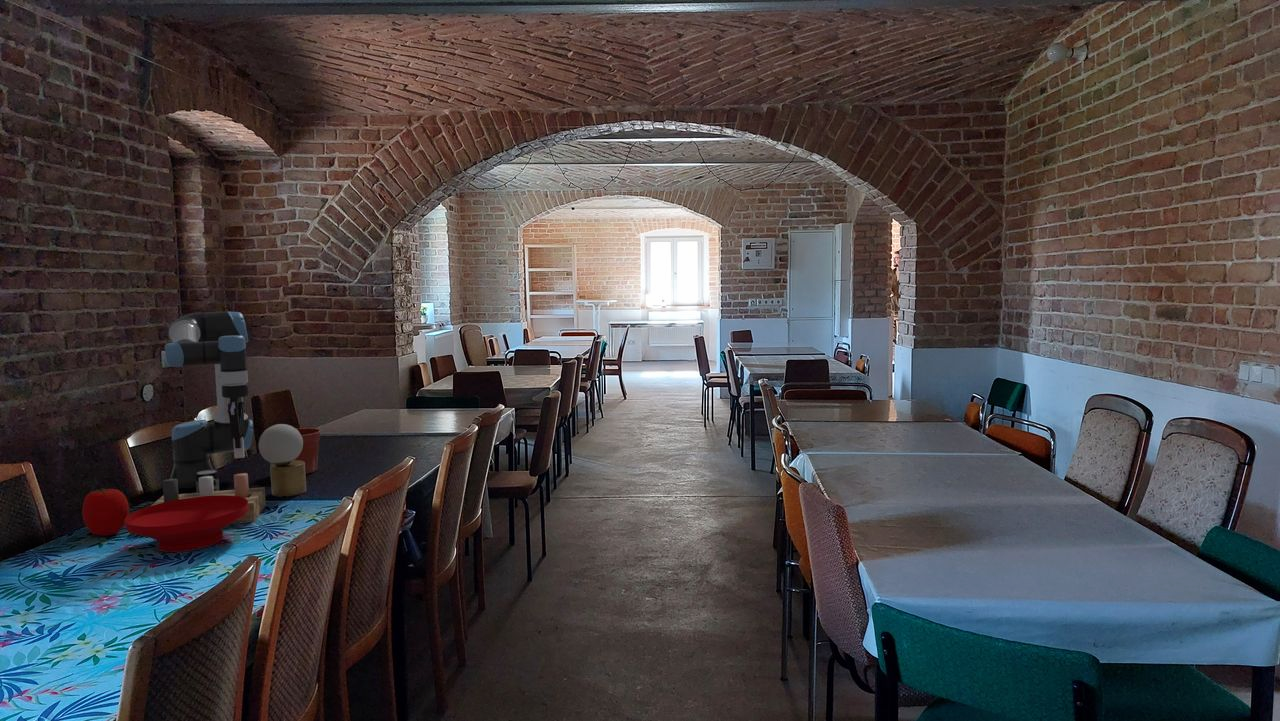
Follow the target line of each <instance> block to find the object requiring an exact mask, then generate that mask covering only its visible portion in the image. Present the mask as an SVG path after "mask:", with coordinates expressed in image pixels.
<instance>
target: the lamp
mask: <svg viewBox="0 0 1280 721" xmlns="http://www.w3.org/2000/svg"><path fill="white" fill-rule="evenodd" d="M297 429H298V428H295V427H294V426H292V425H289V424H285V423H277V424H274V425H271V426H269V427H268V428H267V429H265V430H264V431H263V433H261V435H260V437H259V439H258V451H259V453H260V455H261V456H262V458H263V459H264V460H265V461H267V462H268V463H269V464H270V465H269V468H270V470H269V471H270V486H271V496H274V497H278V498H279V497H280V498H283V496H286V497H293V496H294V497H295V496H298V495H302V494H304V493H306V492H307V478H306V477H307V476H306V475H307V474H305V462H304V461H299V460H294V459H296V458H297V457H298V456H299V454H300V453H301V451H302V448H303V439H302V436H301V434H300V433H299V431H298V430H297Z"/></svg>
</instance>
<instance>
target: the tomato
mask: <svg viewBox="0 0 1280 721" xmlns="http://www.w3.org/2000/svg"><path fill="white" fill-rule="evenodd" d="M81 510H82V511H81V513H82V514H81V515H82V519H83V522H84V524H85V527H86V528H87V529H88V531H89V532H90V533H91V534H93V535H96V536H101V537H105V536H106V537H107V536H113V535H115V534H117V533H119V531H121V530H122V529H123V528H124V526H125V521H124V520H125V518H126V517H127V516H128V515H130V506H129V501H128V498H127V497H126V496H125V494H124V493H123V491H120V490H119V489H115V488H104V487H100V489H95V490H93V491H90V493H87V495H86V496H85V498H84V499H83V503H82V509H81Z"/></svg>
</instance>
